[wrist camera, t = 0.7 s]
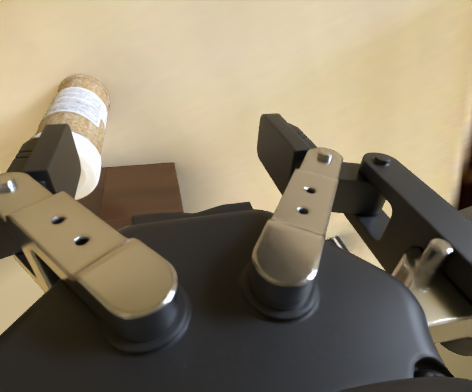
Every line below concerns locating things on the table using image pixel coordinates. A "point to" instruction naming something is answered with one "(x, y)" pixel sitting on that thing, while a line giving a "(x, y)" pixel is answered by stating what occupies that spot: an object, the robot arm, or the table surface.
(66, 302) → the robot arm
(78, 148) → the sprinkles bottle
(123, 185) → the shelf
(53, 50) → the table surface
